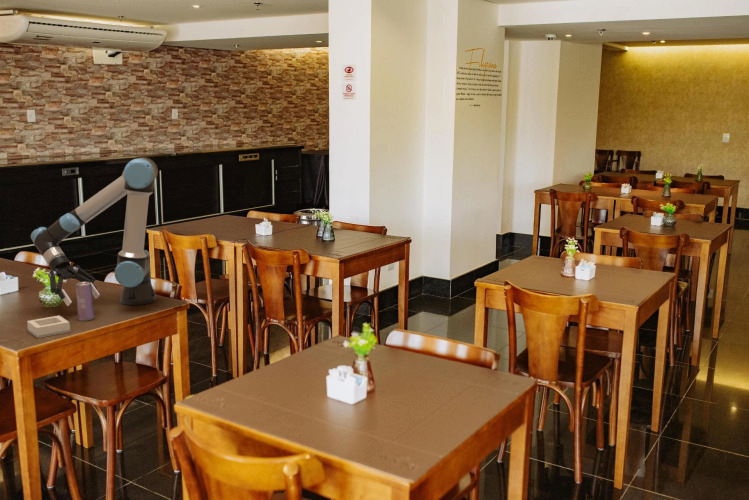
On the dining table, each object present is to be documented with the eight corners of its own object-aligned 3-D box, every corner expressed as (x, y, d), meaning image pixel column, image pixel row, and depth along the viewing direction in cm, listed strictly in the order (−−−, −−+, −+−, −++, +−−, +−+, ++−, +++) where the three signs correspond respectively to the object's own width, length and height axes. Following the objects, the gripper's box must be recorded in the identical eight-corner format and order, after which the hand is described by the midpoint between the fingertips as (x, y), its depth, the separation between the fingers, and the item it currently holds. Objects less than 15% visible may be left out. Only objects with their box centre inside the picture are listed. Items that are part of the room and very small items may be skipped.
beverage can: (96, 317, 303) (94, 281, 300) (89, 321, 297) (87, 285, 294) (82, 316, 304) (80, 281, 301) (75, 320, 298) (72, 284, 295)
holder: (60, 325, 292) (59, 315, 291) (70, 332, 283) (69, 322, 282) (28, 330, 284) (27, 321, 284) (37, 338, 275) (36, 327, 275)
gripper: (78, 260, 315) (104, 299, 311) (26, 271, 294) (53, 312, 290) (85, 249, 312) (112, 288, 307) (33, 259, 291) (61, 301, 286)
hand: (84, 300), depth 298 cm, fingers open, 13 cm apart
